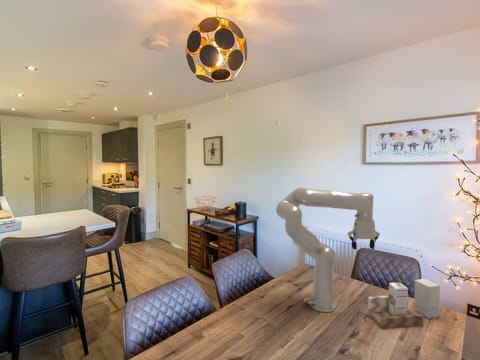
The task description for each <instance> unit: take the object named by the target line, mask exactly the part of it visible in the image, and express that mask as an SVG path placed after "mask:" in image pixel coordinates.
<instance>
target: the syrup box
mask: <svg viewBox="0 0 480 360" xmlns="http://www.w3.org/2000/svg"><path fill="white" fill-rule="evenodd" d="M388 285H389V286H388V295H389V306H388V312H389V313H390V314H391V315H392V316H393V317H394V316H406V315H407V299H408V300H409V295H408V294H409V293H408V291H409V289H408V287H406V286H405V285H404V284H403V283H401V282H389V284H388Z"/></svg>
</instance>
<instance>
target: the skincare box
mask: <svg viewBox="0 0 480 360" xmlns="http://www.w3.org/2000/svg"><path fill="white" fill-rule="evenodd" d="M440 288H441V287H440V284H437V283H435V282H433V281H431V280H429V279H426V278H421V279H415V280H414V302H413V303H414V307H413V308H414V311H416V312H418V313H419V314H422V315H423V317H425V318H427V319H435V318H439V317H440V298H441V297H440V295H441V293H440V290H441V289H440Z"/></svg>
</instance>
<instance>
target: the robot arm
mask: <svg viewBox="0 0 480 360" xmlns="http://www.w3.org/2000/svg"><path fill="white" fill-rule="evenodd" d="M300 205H301V206H305V207H313V208H331V209H341V210H354V211H356V214H354V219H355V220H354V223H353V228H352V230H351V231H348V232H347V236H348V238H349V239H350V241H351V249H354V250H357V245H358V244H357V240H369V248H370V249H372V250H374V249H375V243H376V242H377V240H378V239H379V236H380V234H381V233H380V232H378V231H376V223H375V220H374V219H373V216H374V215H373V213H374V195H373V194H372V193H369V192H360V193H356V192H346V193H344V192H339V191H335V190H325V189H312V188H306V187H297V188H295V189H294V190H293V191H292V192H290V193H289V194H288V195H287V196H286V197H284V198H283V199H282V200H280V202H279V203H277V205H276V211H275V212H276V214H277V216H278V217H280V218H281V219H282V220H285V223H284V225H285V227H284V228H285V229H284V230H285V232H286V234H287V236H288V237H289V238H291V240H292V242H293V244H294V245H295V246H296V247H297V248H298V249H300V250H301V251H302V252H303V253H305V254H306V255H307V256H308V257H309V258H311V259H312V260H314V261H315V266H314V268H313V277H312V278H313V283H312V284H313V289H312V294H311V296H310V297H304V298H303V302H304V303H308V305H310V307H311V308H312V309H314V310H315V311H317V312H321V313H332V312H334V311H335V310H336V304H335V302H334V300H333V298H334V295H333V294H334V293H333V292H334V289H333V288H334V268H335V267H334V266H335V263H336V257H337V256H336V252H335V251H334V249H333V248H332V247H330V246H329V245H327V244H326V243H323V242H321V241H320V240H319V238H318V237H317V236H316V235H315V234H314V233H312V232H311V231H310V230H309V229H307V228H306V227H305V225H303V222H302V219H303V211H302V209H301V208H300V207H299V206H300ZM352 235H353V236H352Z"/></svg>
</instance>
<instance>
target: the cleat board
mask: <svg viewBox="0 0 480 360" xmlns="http://www.w3.org/2000/svg"><path fill="white" fill-rule="evenodd" d="M388 306H389V294H388V295H377V296H376V295H375V296H367V316H368V317H369V318H370V319H371V320H372V321H373V322H375V324H376V325H377V326H378V327H380V329H382V330H385V329H397V328H409V327H419V326H423V325H424V315H422V314H421V313H419V314H415V313H414V312H412V311H410V310H409V309H408V308H409V298H408V299H407V315H406V316H394V317H393V316H392V315H391V314H390V313H389V312H388Z"/></svg>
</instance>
